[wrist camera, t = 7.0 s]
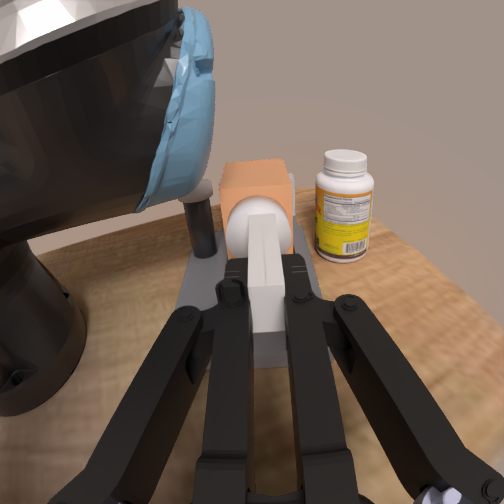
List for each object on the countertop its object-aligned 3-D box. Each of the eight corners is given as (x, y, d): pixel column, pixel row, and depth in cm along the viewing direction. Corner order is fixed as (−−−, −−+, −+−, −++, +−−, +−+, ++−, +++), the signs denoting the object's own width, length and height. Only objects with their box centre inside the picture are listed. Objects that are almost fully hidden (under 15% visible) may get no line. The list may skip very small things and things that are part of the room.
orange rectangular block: (232, 314, 22) (215, 202, 18) (236, 254, 29) (225, 163, 24) (296, 310, 22) (295, 196, 17) (286, 250, 29) (282, 158, 24)
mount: (168, 369, 20) (134, 289, 16) (199, 244, 35) (187, 181, 31) (332, 362, 20) (345, 276, 16) (301, 237, 34) (301, 172, 30)
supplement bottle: (327, 232, 35) (329, 144, 29) (373, 245, 32) (382, 152, 26) (305, 256, 31) (304, 157, 26) (356, 272, 28) (365, 167, 23)
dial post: (187, 262, 29) (172, 193, 25) (192, 244, 32) (179, 181, 28) (220, 259, 29) (209, 189, 25) (222, 242, 32) (213, 177, 28)
